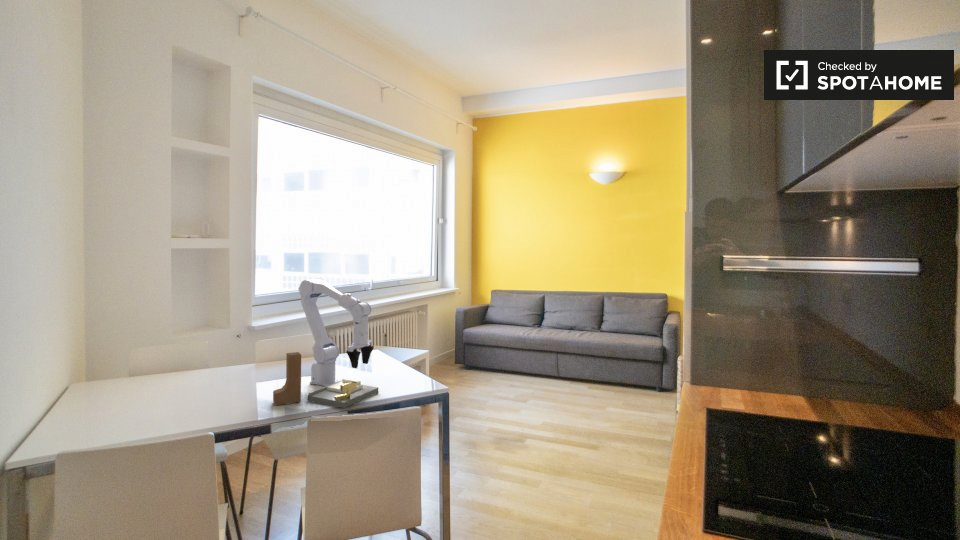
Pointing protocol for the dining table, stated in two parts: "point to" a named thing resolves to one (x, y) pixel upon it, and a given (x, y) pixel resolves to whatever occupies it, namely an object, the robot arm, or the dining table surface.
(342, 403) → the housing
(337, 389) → the cover
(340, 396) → the key
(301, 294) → the robot arm
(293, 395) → the wooden block
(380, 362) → the dining table surface
